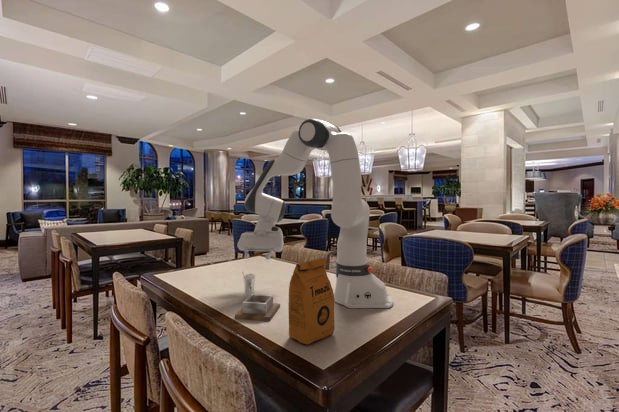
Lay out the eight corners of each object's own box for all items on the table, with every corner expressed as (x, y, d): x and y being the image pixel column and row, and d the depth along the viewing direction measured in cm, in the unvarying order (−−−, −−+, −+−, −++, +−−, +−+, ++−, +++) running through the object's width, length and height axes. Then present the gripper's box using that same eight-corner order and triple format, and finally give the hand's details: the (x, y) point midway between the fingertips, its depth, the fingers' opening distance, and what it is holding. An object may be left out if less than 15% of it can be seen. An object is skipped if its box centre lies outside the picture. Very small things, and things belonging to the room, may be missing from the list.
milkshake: (245, 294, 122) (245, 270, 122) (257, 295, 121) (257, 271, 120) (239, 298, 118) (239, 272, 117) (252, 299, 116) (251, 274, 116)
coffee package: (340, 336, 87) (340, 260, 86) (305, 350, 79) (305, 266, 78) (317, 324, 94) (317, 254, 93) (284, 336, 87) (283, 260, 86)
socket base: (280, 307, 109) (280, 294, 109) (270, 320, 97) (269, 306, 97) (248, 304, 111) (248, 292, 111) (234, 318, 99) (234, 304, 99)
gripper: (240, 227, 137) (231, 253, 128) (284, 228, 133) (278, 255, 124) (244, 236, 142) (235, 261, 132) (286, 237, 138) (281, 263, 129)
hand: (256, 258), depth 128 cm, fingers open, 8 cm apart
